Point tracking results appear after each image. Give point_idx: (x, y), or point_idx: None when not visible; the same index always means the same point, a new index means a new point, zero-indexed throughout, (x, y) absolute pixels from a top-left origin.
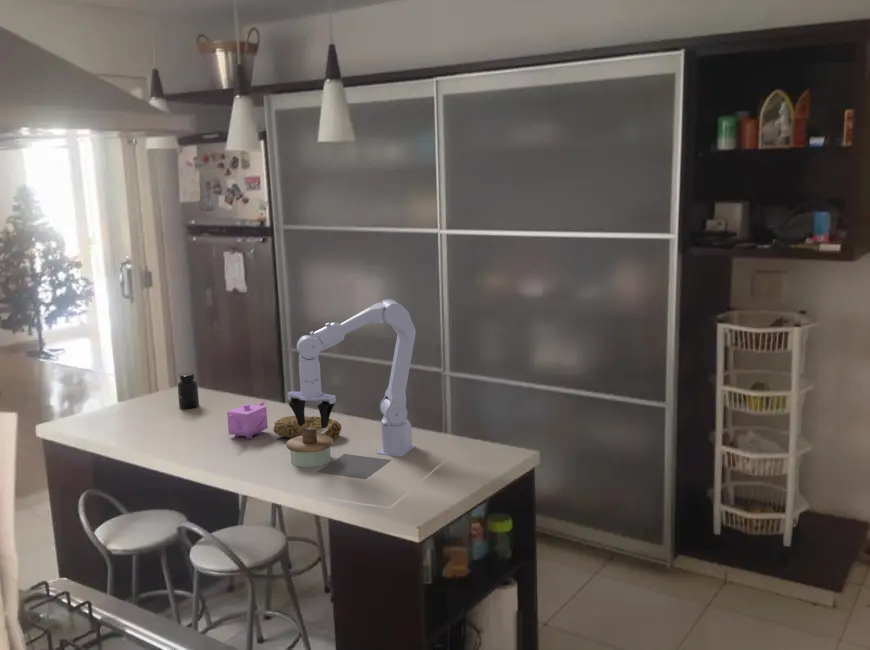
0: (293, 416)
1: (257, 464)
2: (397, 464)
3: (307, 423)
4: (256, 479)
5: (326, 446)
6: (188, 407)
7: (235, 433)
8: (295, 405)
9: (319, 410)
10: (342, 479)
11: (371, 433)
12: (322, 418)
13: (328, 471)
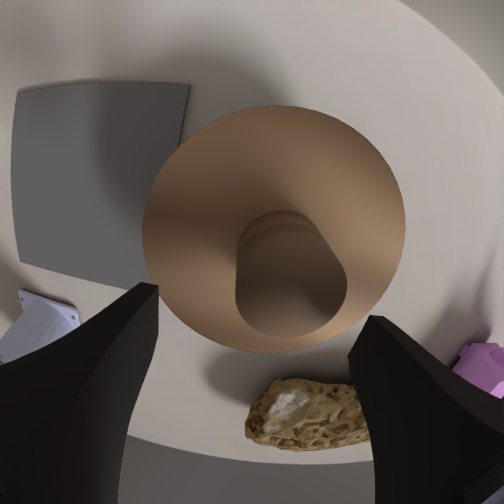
0: None
1: (450, 167)
2: (3, 239)
3: (346, 421)
4: (404, 25)
5: (148, 196)
6: (502, 397)
7: (490, 344)
8: (500, 436)
9: (53, 411)
10: (78, 65)
11: (181, 422)
12: (95, 330)
13: (141, 101)
